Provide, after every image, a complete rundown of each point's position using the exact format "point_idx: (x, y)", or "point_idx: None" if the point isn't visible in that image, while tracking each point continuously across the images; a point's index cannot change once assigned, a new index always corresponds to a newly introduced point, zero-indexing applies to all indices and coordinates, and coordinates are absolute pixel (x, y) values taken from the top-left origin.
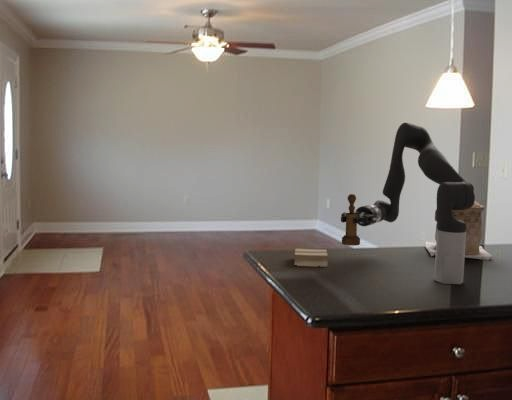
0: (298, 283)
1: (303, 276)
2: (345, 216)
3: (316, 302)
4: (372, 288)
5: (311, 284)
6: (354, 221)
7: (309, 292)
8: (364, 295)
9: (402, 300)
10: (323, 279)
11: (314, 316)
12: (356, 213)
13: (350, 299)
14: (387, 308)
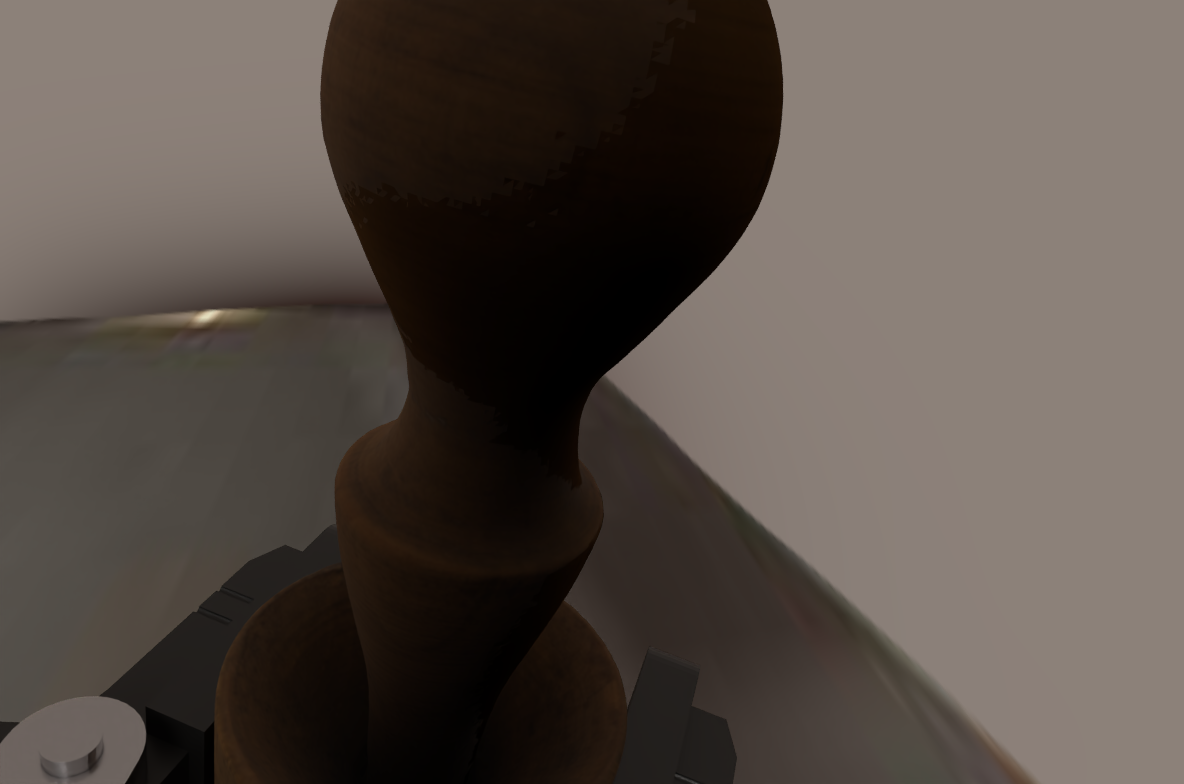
0: (705, 574)
1: (750, 730)
2: None
3: None
4: (222, 539)
5: (626, 566)
6: None
7: (595, 460)
8: (309, 440)
9: (108, 395)
10: None
11: None
12: (232, 742)
13: (390, 400)
14: (236, 334)
